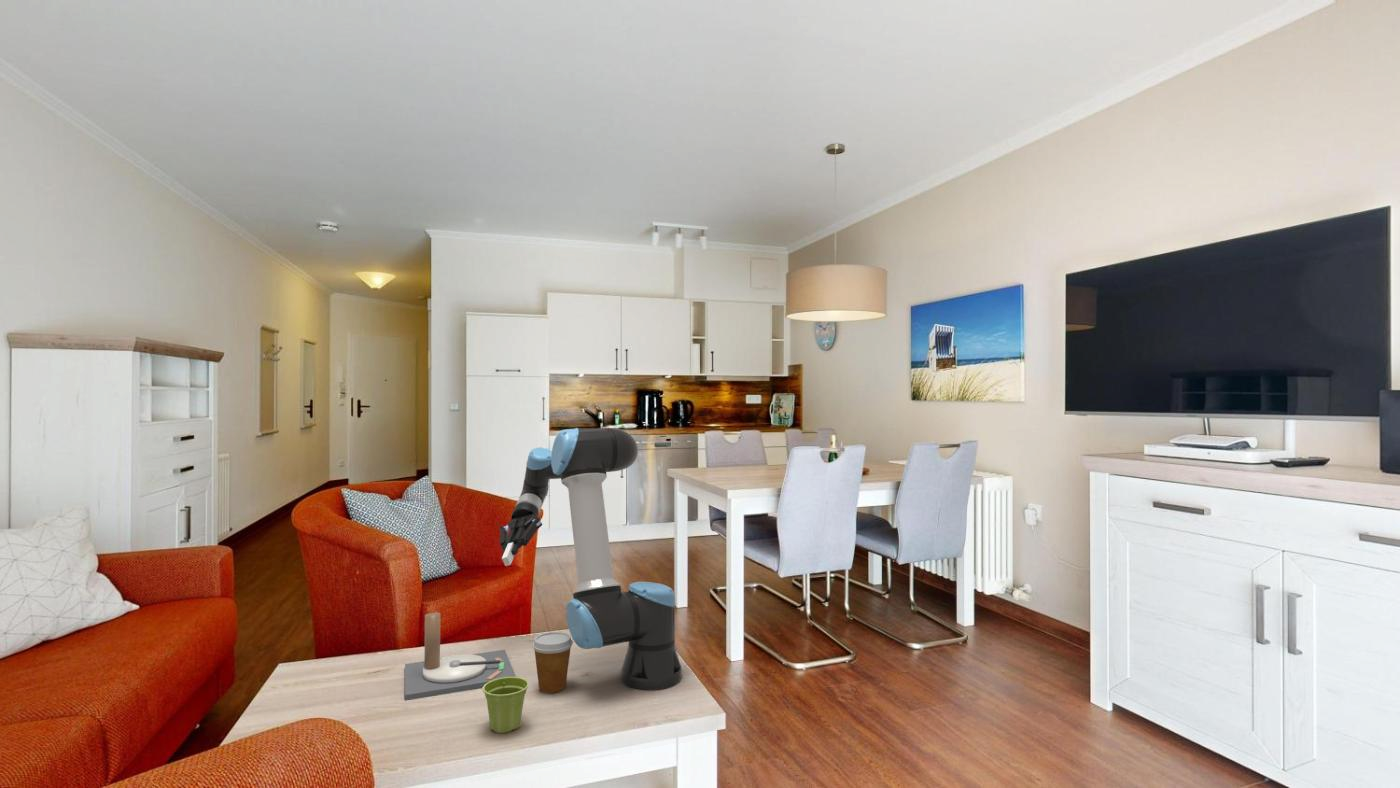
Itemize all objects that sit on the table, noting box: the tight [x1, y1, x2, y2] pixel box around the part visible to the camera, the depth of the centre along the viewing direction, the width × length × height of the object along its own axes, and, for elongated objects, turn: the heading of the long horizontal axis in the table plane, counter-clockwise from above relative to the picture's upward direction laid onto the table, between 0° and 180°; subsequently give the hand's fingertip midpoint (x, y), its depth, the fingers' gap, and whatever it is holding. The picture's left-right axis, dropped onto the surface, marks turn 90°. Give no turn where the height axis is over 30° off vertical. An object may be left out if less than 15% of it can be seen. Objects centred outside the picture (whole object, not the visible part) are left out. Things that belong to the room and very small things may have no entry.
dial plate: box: [404, 649, 517, 701], centre depth 165 cm, size 20×25×2 cm
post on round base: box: [423, 611, 501, 683], centre depth 165 cm, size 16×15×14 cm
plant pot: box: [482, 676, 530, 734], centre depth 139 cm, size 9×9×9 cm
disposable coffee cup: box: [532, 631, 574, 694], centre depth 158 cm, size 10×10×12 cm
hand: (506, 561), depth 177 cm, fingers closed
